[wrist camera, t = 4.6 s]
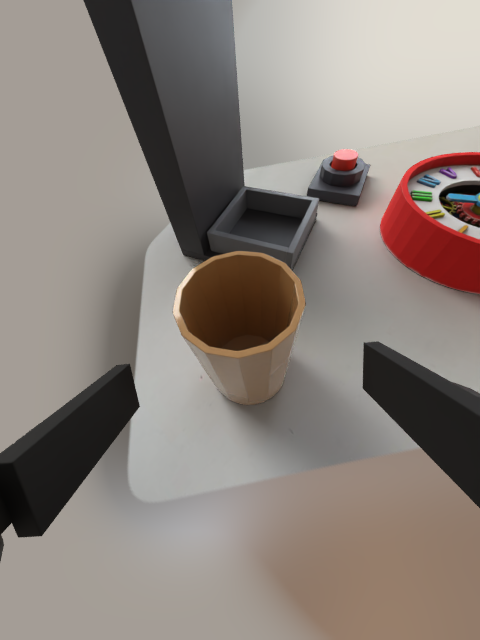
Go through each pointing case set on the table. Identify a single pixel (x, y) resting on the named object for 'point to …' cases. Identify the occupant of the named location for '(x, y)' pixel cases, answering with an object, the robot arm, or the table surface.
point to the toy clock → (438, 220)
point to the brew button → (344, 160)
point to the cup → (241, 322)
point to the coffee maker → (196, 126)
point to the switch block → (338, 183)
